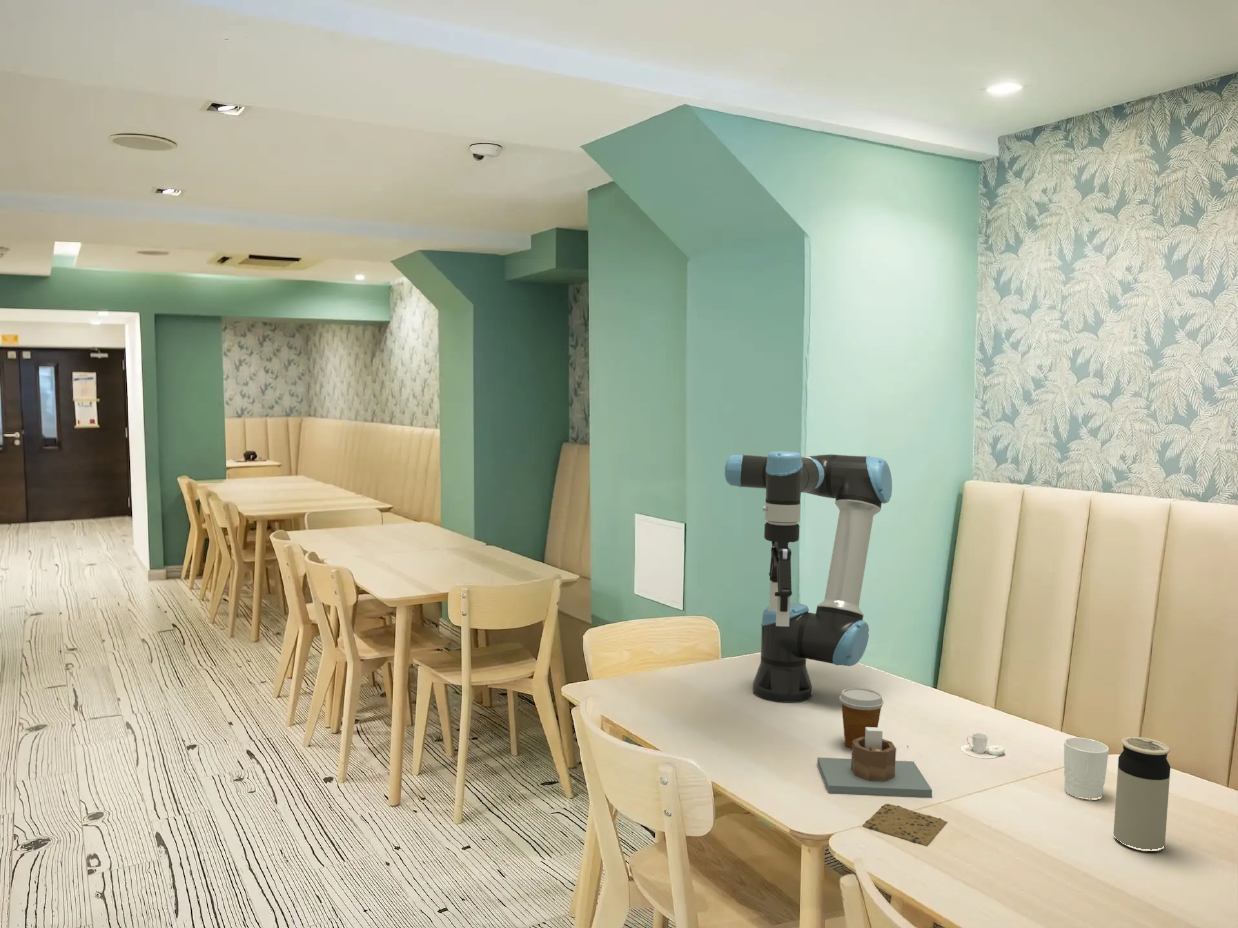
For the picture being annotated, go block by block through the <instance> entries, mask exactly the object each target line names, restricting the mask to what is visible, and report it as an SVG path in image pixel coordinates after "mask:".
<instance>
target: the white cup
mask: <svg viewBox="0 0 1238 928" xmlns="http://www.w3.org/2000/svg"><path fill="white" fill-rule="evenodd" d="M1063 746H1064V747H1063V749H1064V750H1063V757H1064V758H1063V775H1064V791H1065V793H1066V792H1067V793H1066V794H1067V795H1069V794H1070V795H1069V796H1071V795H1072V796H1071V797H1073V796H1077V797H1083V798H1088V799H1089V798H1090V799H1092V798H1098V797H1101V796H1102V795H1103V796H1104V787H1105V786H1104V785H1105V783H1106V775H1107V767H1108V758H1109V750H1110V749H1109V746H1108V745H1106V744H1104V743H1103V742H1101V741H1098V740H1094V739H1091V738H1085V737H1078V736H1077V737H1068V738H1065V740H1064V741H1063ZM1103 796H1102V797H1103Z"/></svg>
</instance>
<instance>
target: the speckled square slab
mask: <svg viewBox="0 0 1238 928" xmlns="http://www.w3.org/2000/svg"><path fill="white" fill-rule="evenodd" d="M948 823H949V822H948V821H946V820H944V819H942V818H941V817H939V818H938V817H936V816H932V815H931V814H930V815H929V814H925V813H921V812H919V811H914V810H911V809H907V807H906V808H905V807H903V806H901V805H895V804H891V803H885V804H883V805H882V806H881V807H880V808H879V809H878V810H877V811H876V812H875V813H874V814H873V815H872V816H870V817H869V818H868V819H867V820H866V821H865V822H864V823H863V824H862V825H861V826H862V827H863V828H864V829H868V830H871V831H874V832H878V833H880V834H884V835H888V836H891V837H895V838H897V839H900V840H904V841H908V842H910V843H914V844H917V845H921V846H924V847H928V846H929V845H931V843H932V842H933V841H934V840H935V839H936V837H937V836H938V835H939V834H940V832H942V830H943V829H944V828H945V827H946V825H947V824H948Z"/></svg>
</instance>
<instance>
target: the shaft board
mask: <svg viewBox="0 0 1238 928" xmlns="http://www.w3.org/2000/svg"><path fill="white" fill-rule="evenodd" d="M883 732H884V731H883V729H882V728H881V727H878V728H876V727H865V748H867V749H870V747H881V749H882V739H883ZM816 762H817V763H816V764H817V767H818V770H819V772H820V776H821V778H822V780H823V782H824V785H825V788H826V790H827V793H828V794H839V795H840V794H841V795H843V794H844V795H867V796H868V795H869V796H887V797H889V796H890V797H891V796H892V797H911V798H913V797H915V798H933V789H932V787H931V786H930V784H929V782H928V781H927V780H926V778H925V777H924V775H923V773H922V772H921V771H920V769H919V767H918V766H917V765H916V763H915V761H914V760H913V761H912V760H910V761H909V760H908V761H907V760H895V777H894V778H892V779H890V780H888V781H886V782H883V781H868V780H865V779H862V778H860V777H857V776H854V774H853V772H852V770H851V758H843V757H842V758H839V757H819V756H818V757H817V761H816Z"/></svg>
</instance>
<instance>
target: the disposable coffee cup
mask: <svg viewBox="0 0 1238 928" xmlns="http://www.w3.org/2000/svg"><path fill="white" fill-rule="evenodd" d="M839 701H840V703H841V712H842V724H843V725H842V727H843V735H844V736H843V737H844V746H845V747H846V748H847V749H849V750H851V751H852V740H855V739H857V738H860V737H865V727H876V728H879V721H880V716H881V712H882V711H881V710H882V707H883V705H884V703H885V701H884V699H883V696H882V693H880V692H878V691H876V690H873V689H870V688H864V687H849V688H845V689H842V692H841V695H839Z"/></svg>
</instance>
